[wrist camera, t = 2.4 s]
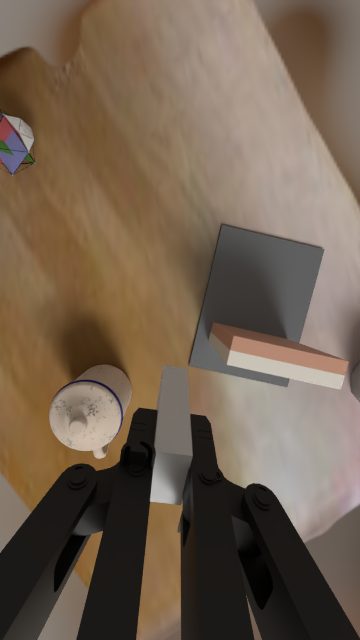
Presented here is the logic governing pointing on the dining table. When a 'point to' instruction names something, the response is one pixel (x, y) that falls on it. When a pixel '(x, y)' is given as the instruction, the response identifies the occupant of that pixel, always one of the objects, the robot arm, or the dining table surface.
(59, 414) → the teacup with lid
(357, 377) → the toilet tissue
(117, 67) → the dining table surface
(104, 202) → the dining table surface
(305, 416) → the dining table surface
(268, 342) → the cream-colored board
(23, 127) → the geometric puzzle
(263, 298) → the mat
